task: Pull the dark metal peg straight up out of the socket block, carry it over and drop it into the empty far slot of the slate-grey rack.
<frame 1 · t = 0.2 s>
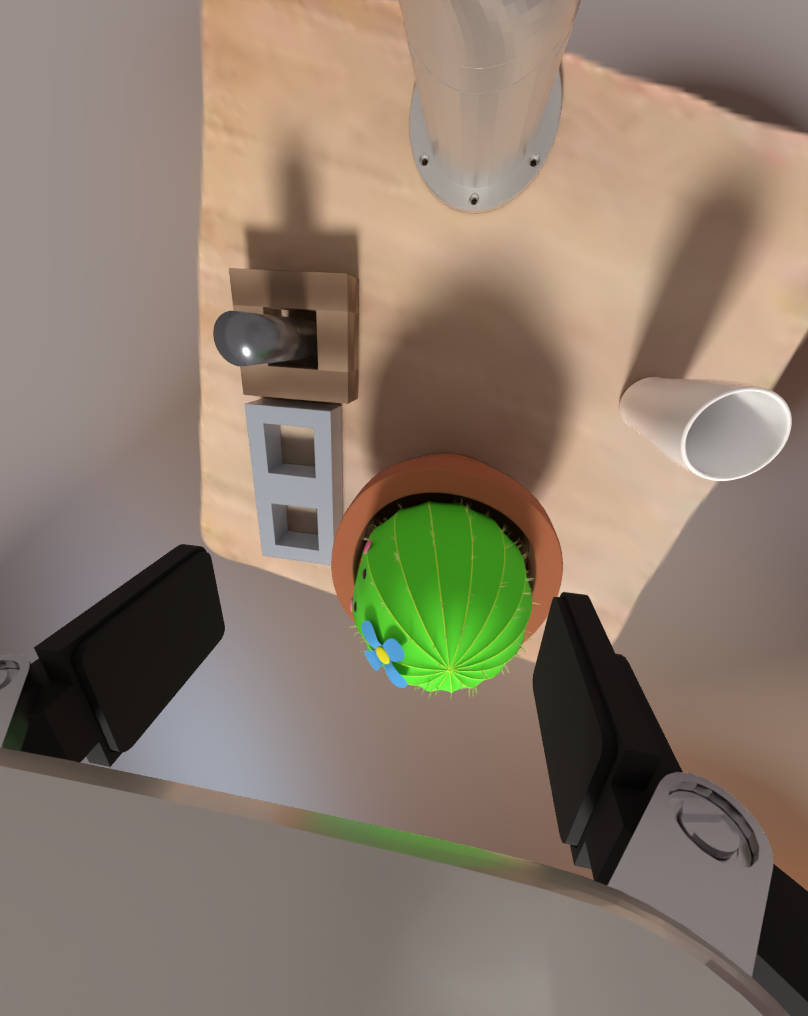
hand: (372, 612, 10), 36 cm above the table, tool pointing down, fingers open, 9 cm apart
potted cactus: (447, 517, 49), on the table
peg rack: (305, 480, 50), on the table
socket block: (306, 339, 42), on the table
metal peg: (277, 339, 36), in the socket block
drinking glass: (644, 402, 40), on the table
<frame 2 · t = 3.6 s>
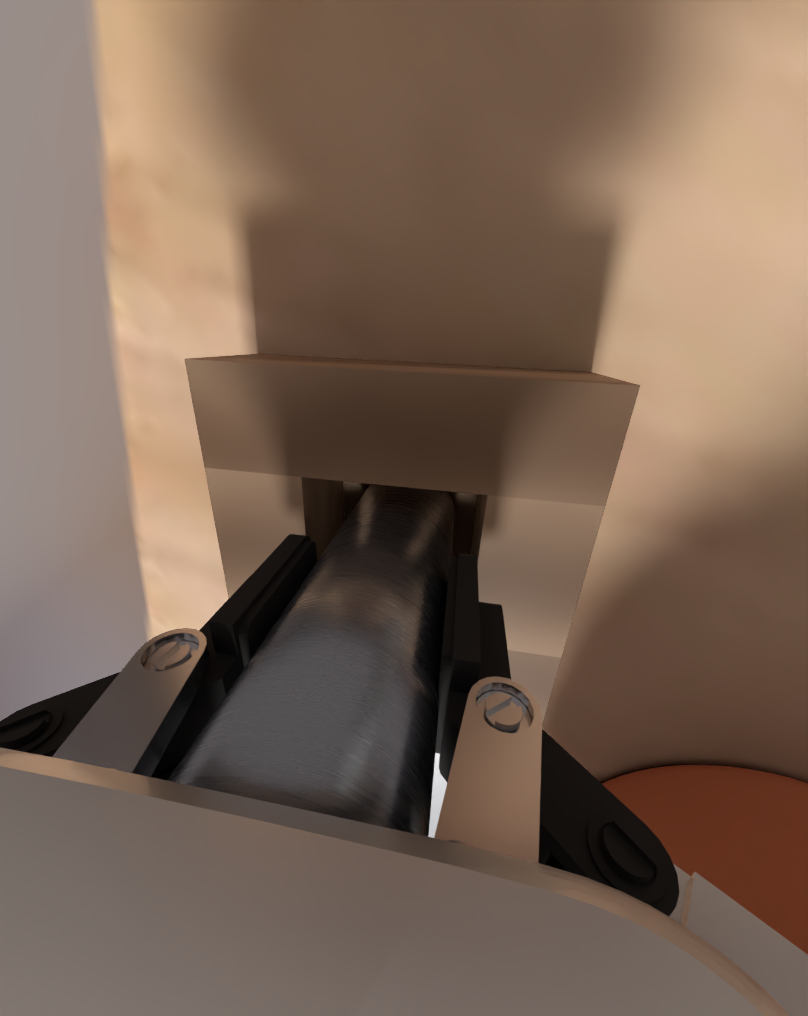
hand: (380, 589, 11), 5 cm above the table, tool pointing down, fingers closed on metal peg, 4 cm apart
potted cactus: (694, 852, 22), on the table
peg rack: (378, 763, 23), on the table
socket block: (407, 514, 16), on the table
metal peg: (366, 629, 10), in the socket block, touching gripper
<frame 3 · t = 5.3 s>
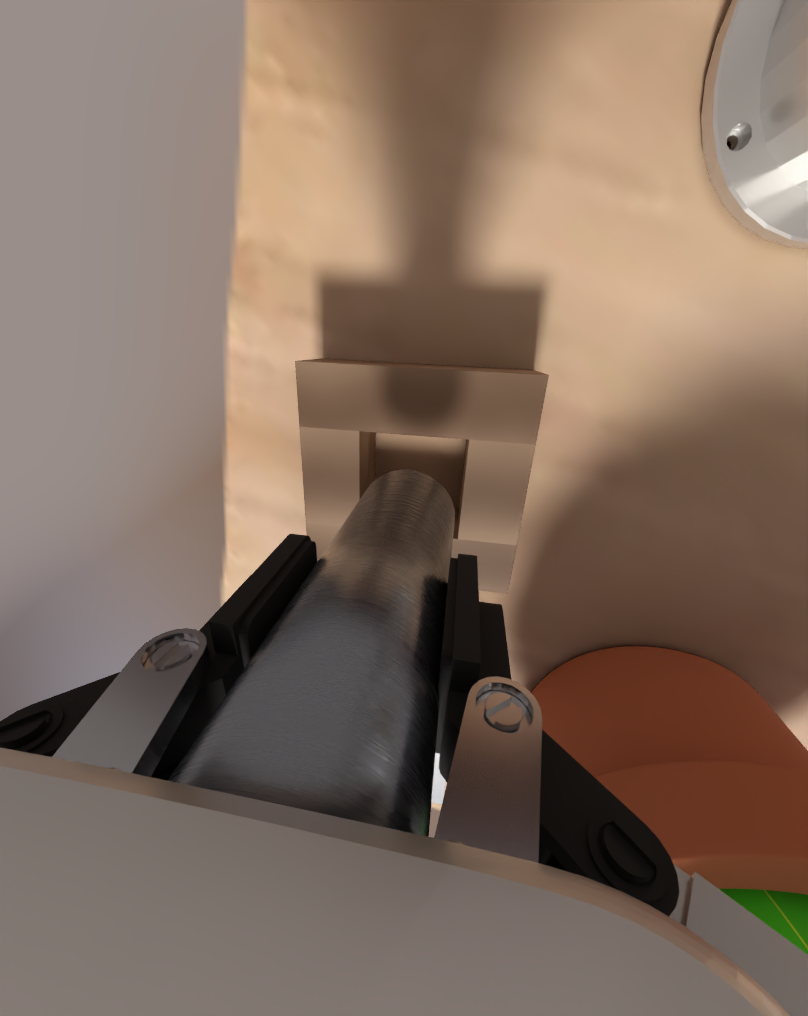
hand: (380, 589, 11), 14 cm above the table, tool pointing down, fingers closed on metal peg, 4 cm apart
potted cactus: (628, 725, 30), on the table
peg rack: (393, 664, 31), on the table
socket block: (418, 465, 24), on the table
metal peg: (366, 629, 10), point 15 cm above the table, touching gripper
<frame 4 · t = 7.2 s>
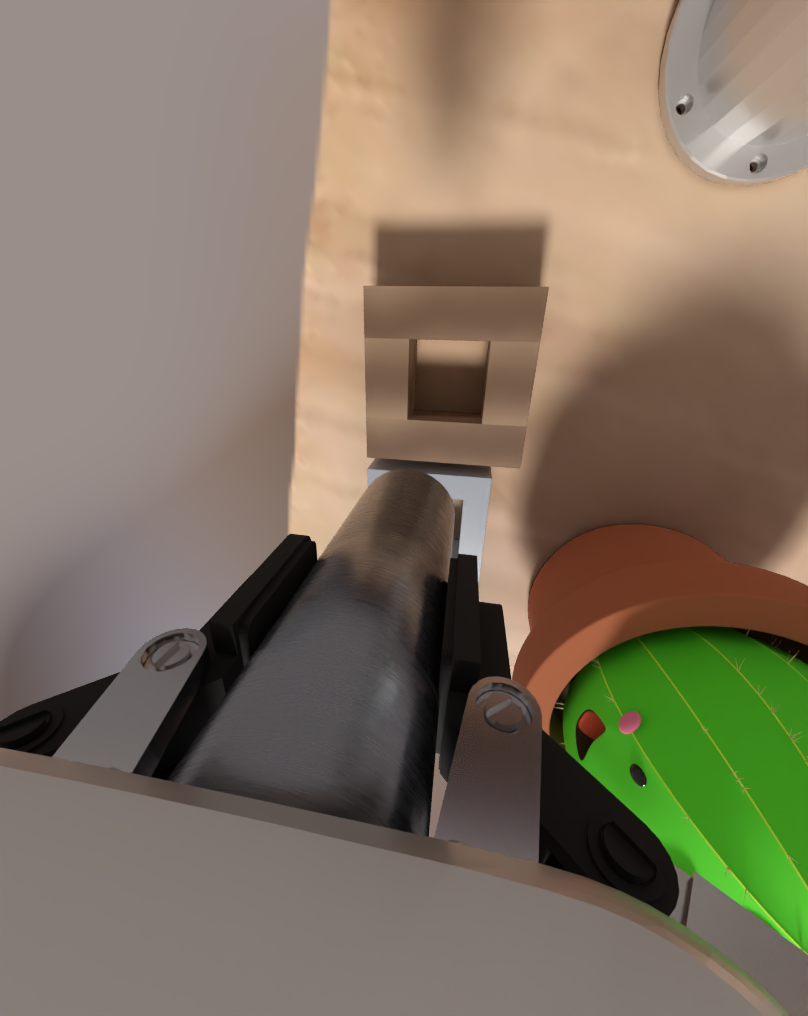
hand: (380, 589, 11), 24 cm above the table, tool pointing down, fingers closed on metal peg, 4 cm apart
potted cactus: (620, 600, 37), on the table
peg rack: (427, 554, 38), on the table
socket block: (449, 377, 31), on the table
metal peg: (366, 628, 10), point 25 cm above the table, touching gripper
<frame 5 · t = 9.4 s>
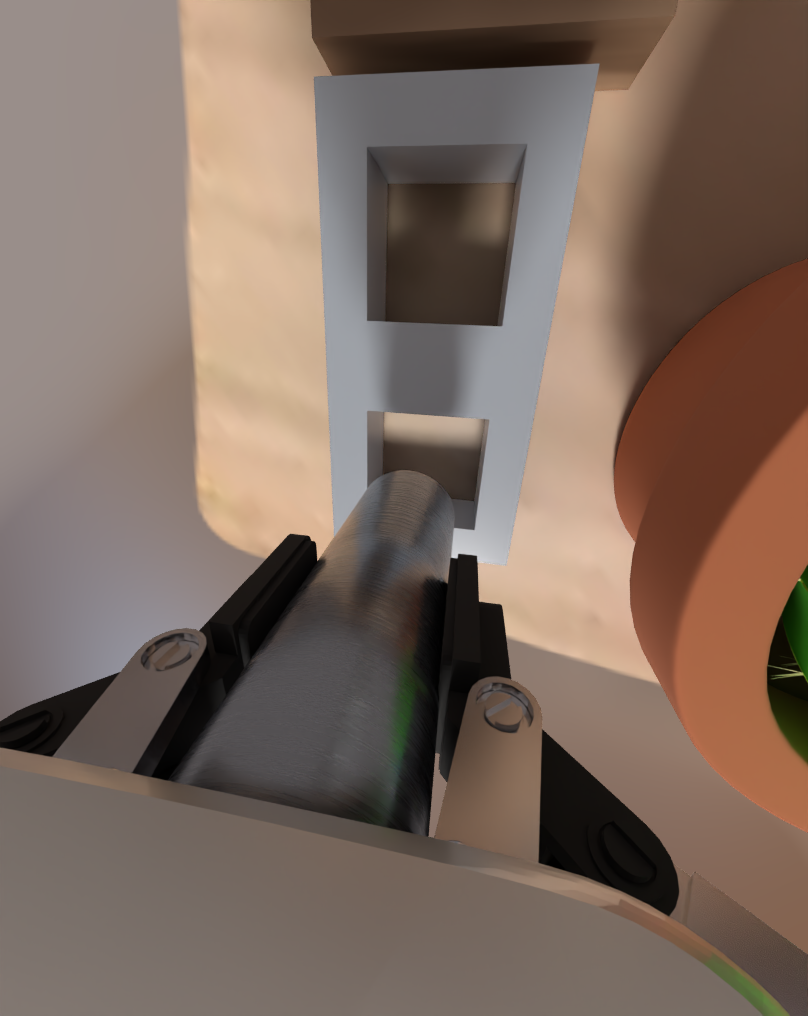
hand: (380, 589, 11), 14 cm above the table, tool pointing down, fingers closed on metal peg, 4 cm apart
potted cactus: (788, 444, 20), on the table
peg rack: (437, 365, 21), on the table
metal peg: (365, 631, 10), point 15 cm above the table, touching gripper
when the fingers open (7 cm above the table, at t = 10.9 s): metal peg drops 1 cm, resting in peg rack.
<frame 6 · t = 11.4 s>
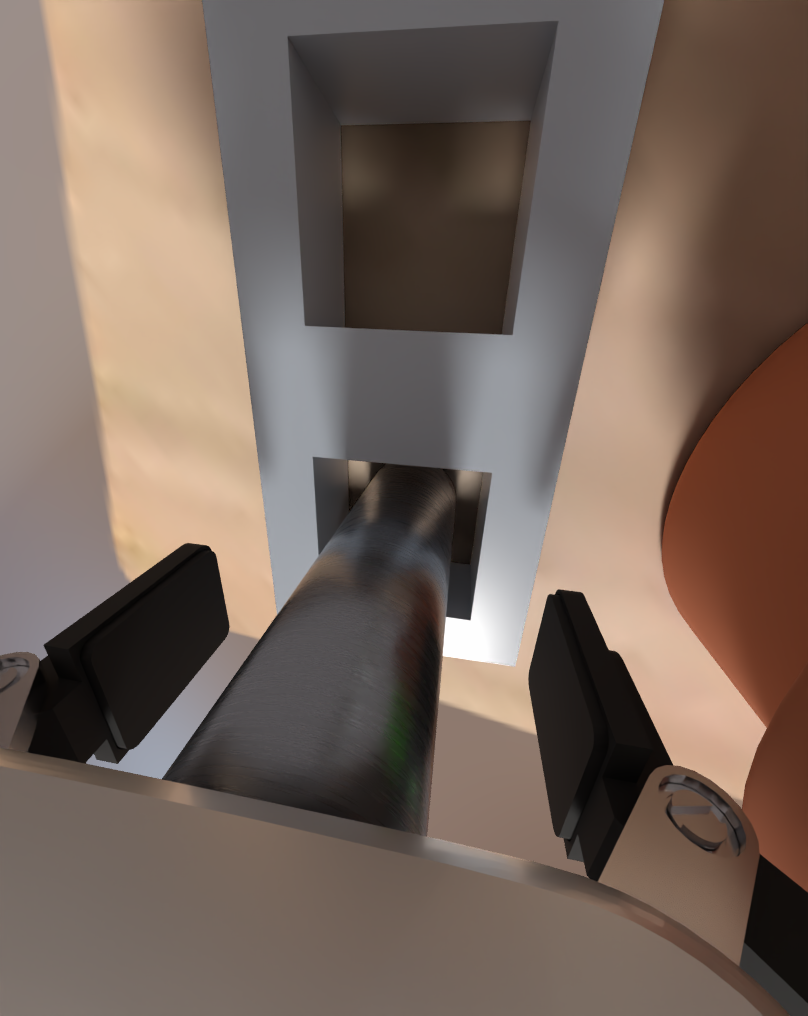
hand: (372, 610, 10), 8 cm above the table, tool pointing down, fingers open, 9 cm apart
peg rack: (418, 387, 15), on the table
metal peg: (378, 591, 11), in the peg rack
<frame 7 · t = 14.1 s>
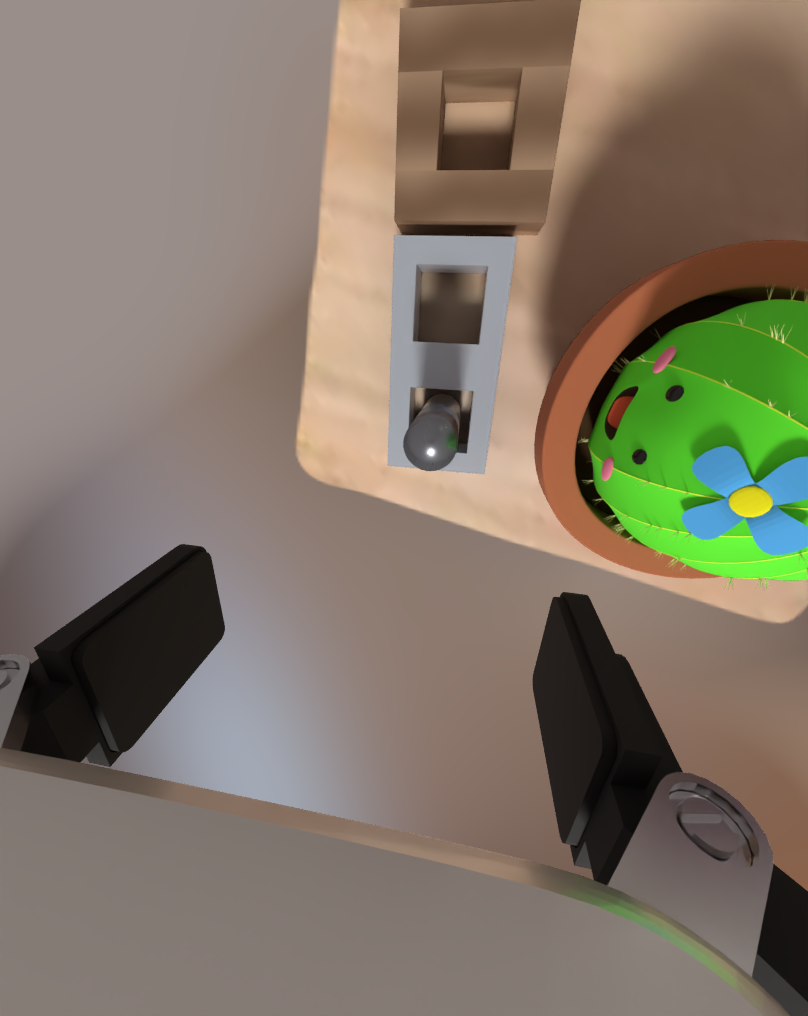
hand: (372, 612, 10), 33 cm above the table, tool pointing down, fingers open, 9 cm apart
potted cactus: (634, 406, 38), on the table
peg rack: (445, 364, 38), on the table
socket block: (476, 147, 31), on the table
metal peg: (437, 426, 34), in the peg rack
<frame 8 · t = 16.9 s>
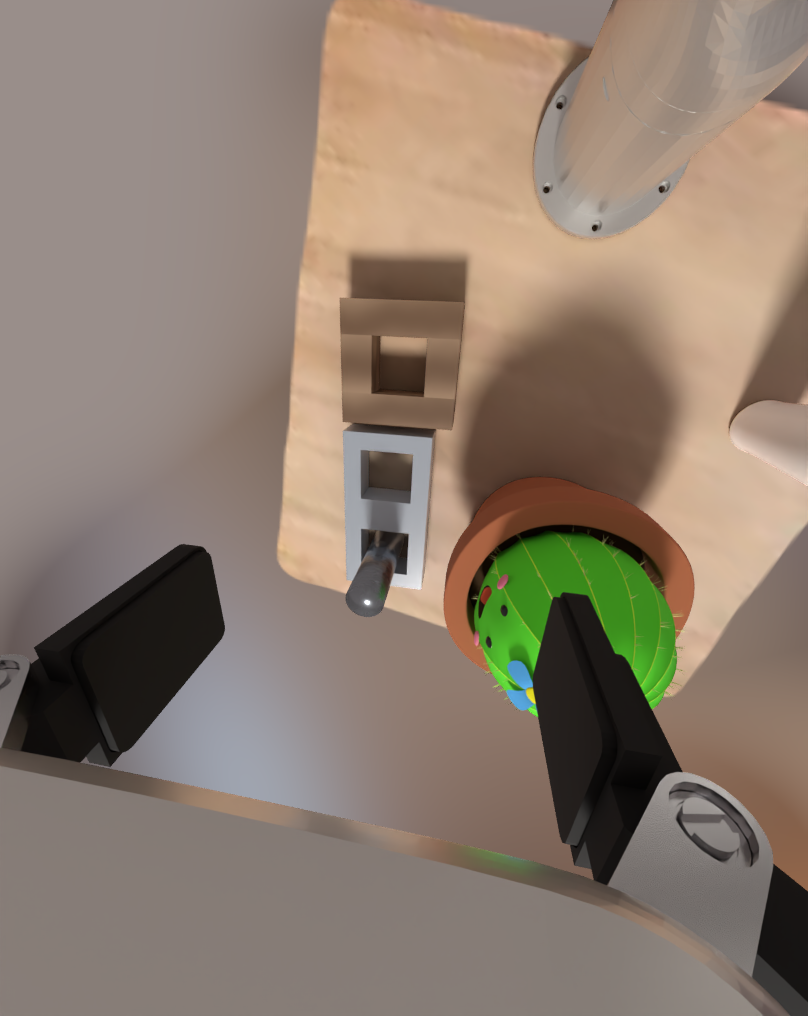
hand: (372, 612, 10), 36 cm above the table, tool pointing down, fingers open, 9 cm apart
potted cactus: (537, 539, 48), on the table
peg rack: (391, 503, 49), on the table
socket block: (404, 364, 42), on the table
metal peg: (379, 564, 45), in the peg rack
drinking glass: (754, 425, 39), on the table
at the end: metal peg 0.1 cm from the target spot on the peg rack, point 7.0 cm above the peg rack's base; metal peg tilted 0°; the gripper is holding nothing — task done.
